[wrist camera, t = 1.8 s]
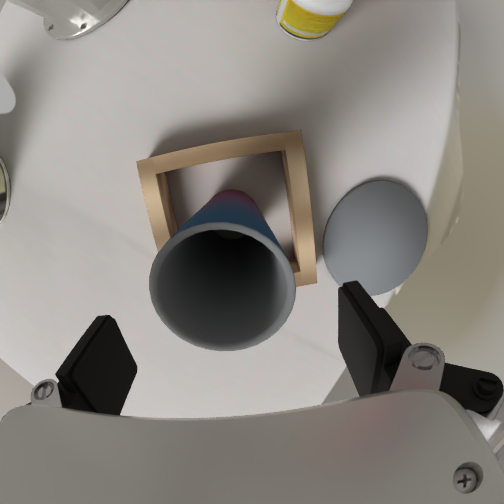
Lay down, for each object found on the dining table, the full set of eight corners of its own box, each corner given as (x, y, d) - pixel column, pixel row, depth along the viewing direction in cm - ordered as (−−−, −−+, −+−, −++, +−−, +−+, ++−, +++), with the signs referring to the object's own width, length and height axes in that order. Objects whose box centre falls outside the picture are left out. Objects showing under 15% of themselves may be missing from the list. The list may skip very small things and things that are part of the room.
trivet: (317, 187, 26) (318, 188, 25) (425, 177, 25) (428, 177, 25) (325, 303, 30) (326, 305, 30) (420, 281, 30) (422, 283, 29)
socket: (147, 159, 24) (136, 161, 21) (294, 132, 24) (301, 130, 21) (180, 290, 29) (174, 304, 26) (310, 269, 29) (317, 283, 26)
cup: (280, 200, 26) (324, 263, 12) (247, 259, 28) (253, 367, 14) (215, 168, 25) (180, 194, 11) (185, 231, 27) (133, 319, 13)
